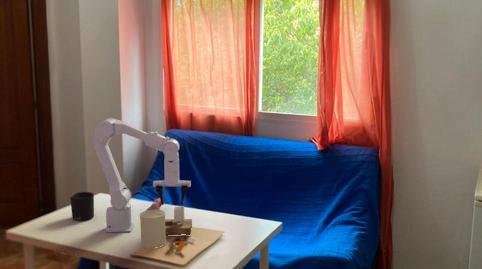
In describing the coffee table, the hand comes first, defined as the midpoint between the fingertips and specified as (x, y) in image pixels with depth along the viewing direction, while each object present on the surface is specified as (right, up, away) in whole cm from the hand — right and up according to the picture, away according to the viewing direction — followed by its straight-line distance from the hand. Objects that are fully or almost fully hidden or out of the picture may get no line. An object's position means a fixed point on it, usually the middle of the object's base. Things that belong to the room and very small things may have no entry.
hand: (172, 204), depth 199 cm
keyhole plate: (+1, -11, -2) cm, 11 cm away
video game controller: (-10, -7, +22) cm, 25 cm away
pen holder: (-39, -8, +14) cm, 43 cm away
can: (-5, -13, -13) cm, 19 cm away
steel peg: (+3, -11, -1) cm, 11 cm away
